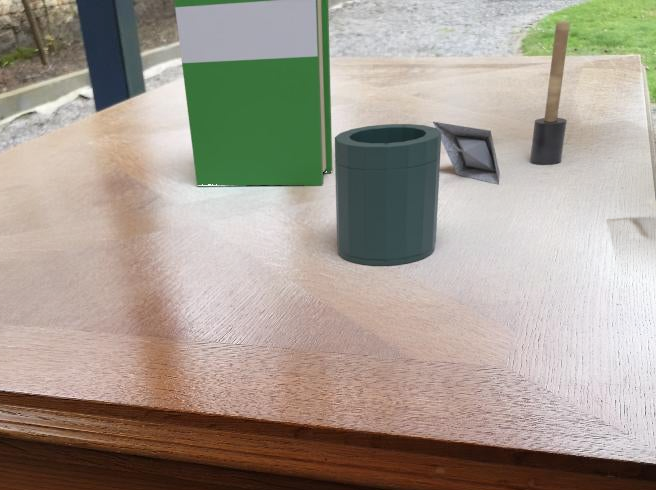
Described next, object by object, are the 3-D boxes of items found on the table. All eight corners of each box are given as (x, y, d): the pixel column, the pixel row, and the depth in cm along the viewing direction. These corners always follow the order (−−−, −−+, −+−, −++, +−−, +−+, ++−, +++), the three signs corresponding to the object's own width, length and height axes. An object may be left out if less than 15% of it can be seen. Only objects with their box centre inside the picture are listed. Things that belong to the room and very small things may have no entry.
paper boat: (531, 162, 101) (511, 158, 94) (497, 204, 105) (475, 203, 98) (465, 103, 103) (440, 95, 96) (433, 147, 107) (408, 142, 100)
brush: (554, 156, 107) (573, 19, 98) (565, 163, 104) (585, 22, 95) (526, 159, 107) (541, 22, 98) (535, 165, 104) (552, 25, 95)
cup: (423, 230, 86) (427, 120, 79) (444, 260, 77) (451, 140, 71) (332, 238, 85) (329, 129, 79) (344, 269, 77) (342, 150, 71)
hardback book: (332, 171, 110) (327, -37, 95) (321, 185, 104) (314, -34, 90) (213, 173, 114) (191, -26, 100) (197, 186, 108) (171, -23, 94)
